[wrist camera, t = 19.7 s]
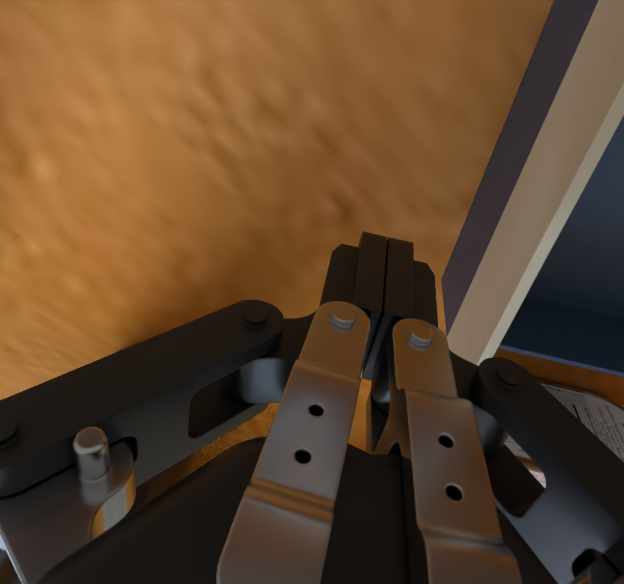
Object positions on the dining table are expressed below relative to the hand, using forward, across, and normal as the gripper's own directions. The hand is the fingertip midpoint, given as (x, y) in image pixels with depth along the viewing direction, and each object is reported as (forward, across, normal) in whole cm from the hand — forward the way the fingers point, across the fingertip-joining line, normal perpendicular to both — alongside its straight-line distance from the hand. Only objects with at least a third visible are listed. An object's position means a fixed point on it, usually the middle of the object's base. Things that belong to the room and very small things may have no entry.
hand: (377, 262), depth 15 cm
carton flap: (+4, -5, 0) cm, 6 cm away
